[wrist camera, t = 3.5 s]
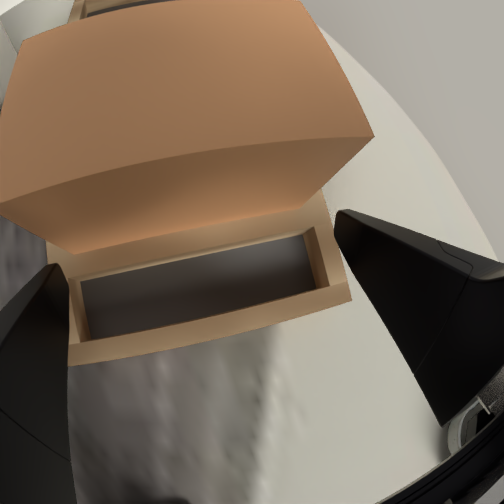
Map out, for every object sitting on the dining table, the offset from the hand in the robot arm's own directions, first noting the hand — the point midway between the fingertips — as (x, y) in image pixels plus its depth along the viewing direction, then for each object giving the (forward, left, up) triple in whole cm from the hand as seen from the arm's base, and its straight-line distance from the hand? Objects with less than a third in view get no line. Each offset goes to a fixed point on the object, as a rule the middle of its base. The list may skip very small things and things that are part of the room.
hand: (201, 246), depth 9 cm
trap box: (+11, 0, -6) cm, 13 cm away
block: (+5, 0, -5) cm, 7 cm away
